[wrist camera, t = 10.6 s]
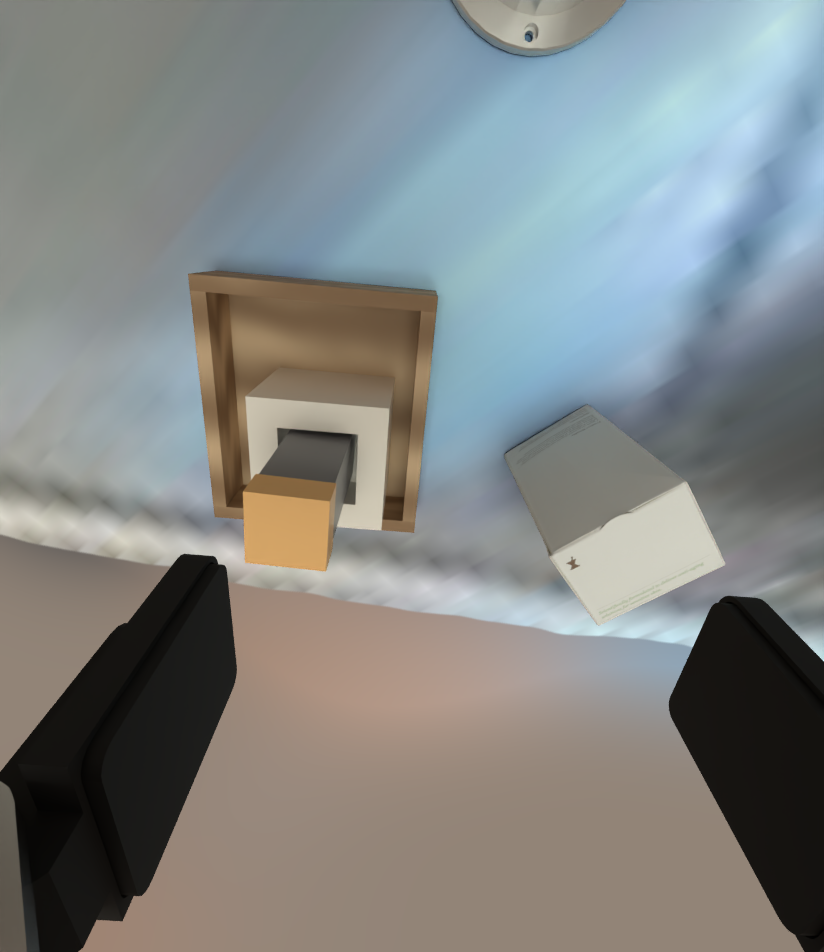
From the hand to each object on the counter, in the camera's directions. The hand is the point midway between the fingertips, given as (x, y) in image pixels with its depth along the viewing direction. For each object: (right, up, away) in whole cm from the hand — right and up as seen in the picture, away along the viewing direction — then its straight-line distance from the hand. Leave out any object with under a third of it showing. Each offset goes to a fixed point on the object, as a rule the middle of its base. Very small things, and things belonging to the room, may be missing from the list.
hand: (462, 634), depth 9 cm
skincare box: (+12, +5, +31) cm, 34 cm away
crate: (-8, +9, +29) cm, 32 cm away
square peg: (-7, +5, +25) cm, 27 cm away
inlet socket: (-7, +7, +30) cm, 31 cm away
